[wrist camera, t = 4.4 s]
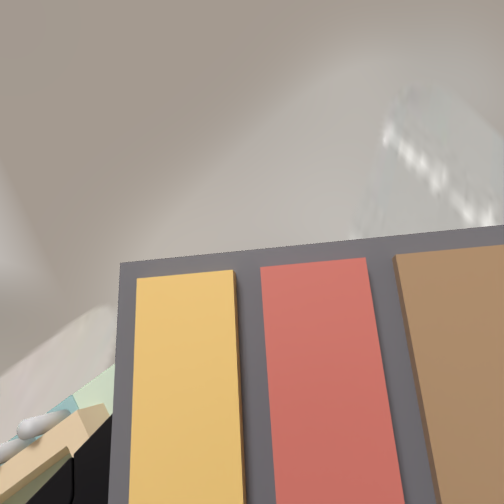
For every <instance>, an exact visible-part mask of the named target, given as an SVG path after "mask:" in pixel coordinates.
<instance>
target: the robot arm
mask: <svg viewBox="0 0 504 504" xmlns="http://www.w3.org/2000/svg"><path fill="white" fill-rule="evenodd" d="M112 415H113V413H112V414H111V415H110V416H109V417H108V419H107V420H106V421H105V422H104V423H103V424H102V425H101V426H100V427H99V428H98V429H97V430H96V431H95V432H94V433H93V434H92V435H91V436H90V437H89V438H88V439H87V440H86V442H85V443H84V444H83V445H82V446H81V447H80V448H79V449H78V450H77V451H76V452H75V453H74V458H73V457H71V458H69V459H68V460H67V461H66V462H65V463H64V464H63V465H62V466H61V467H60V469H59V470H58V471H57V472H56V473H55V474H54V475H53V476H52V477H51V478H50V479H49V480H48V481H47V482H46V483H45V484H44V485H43V486H42V487H41V488H40V489H39V490H38V491H37V492H36V493H35V494H34V495H33V496H32V497H31V498H30V499H29V500H28V501H27V502H26V503H25V504H108V493H109V473H110V454H111V434H112Z"/></svg>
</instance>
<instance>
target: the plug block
mask: <svg viewBox="0 0 504 504" xmlns="http://www.w3.org/2000/svg"><path fill="white" fill-rule="evenodd" d="M119 279H120V280H119V297H118V298H119V300H118V317H117V336H116V356H115V376H114V395H113V415H112V434H111V454H110V473H109V493H108V504H504V225H498V226H487V227H477V228H467V229H457V230H447V231H437V232H427V233H417V234H407V235H397V236H387V237H376V238H366V239H356V240H346V241H337V242H326V243H316V244H306V245H296V246H286V247H276V248H266V249H256V250H245V251H236V252H226V253H216V254H205V255H196V256H185V257H175V258H165V259H155V260H145V261H135V262H125V263H120V278H119Z"/></svg>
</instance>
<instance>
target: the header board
mask: <svg viewBox="0 0 504 504" xmlns="http://www.w3.org/2000/svg"><path fill="white" fill-rule="evenodd" d="M114 376H115V364H113V365H112V366H111V367H109V368H108V369H107V370H105V371H104V372H103V373H101V374H100V375H98V376H97V377H96V378H94V379H93V380H92V381H90V382H89V383H88V384H86V385H85V386H83V387H82V388H81V389H79V390H78V391H77V392H75V393H74V394H73V395H70V396H69V397H68V398H66V399H65V400H64V401H62V402H61V403H60V404H58V405H57V406H55V407H54V408H53V409H51V410H50V411H49V412H47V413H46V414H43V415H40V416H36V417H32V418H28V419H24V420H22V421H21V422H20V423H19V425H18V427H17V435H16V436H15V437H13V438H12V439H10V440H9V441H8V442H5V443H2V444H0V504H25V503H26V502H27V501H28V500H29V499H30V498H31V497H32V496H33V495H34V494H35V493H36V492H37V491H38V490H39V489H40V488H41V487H42V486H43V485H44V484H45V483H46V482H47V481H48V480H49V479H50V478H51V477H52V476H53V475H54V474H55V473H56V472H57V471H58V470H59V469H60V467H61V466H62V465H63V464H64V463H65V462H66V461H67V460H68V459H69V458H71V457H73V458H74V453H75V452H76V451H77V450H78V449H79V448H80V447H81V446H82V445H83V444H84V443H85V442H86V440H87V439H88V438H89V437H90V436H91V435H92V434H93V433H94V432H95V431H96V430H97V429H98V428H99V427H100V426H101V425H102V424H103V423H104V422H105V421H106V420H107V419H108V417H109V416H110V415H111V414H112V413H113V395H114Z"/></svg>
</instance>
